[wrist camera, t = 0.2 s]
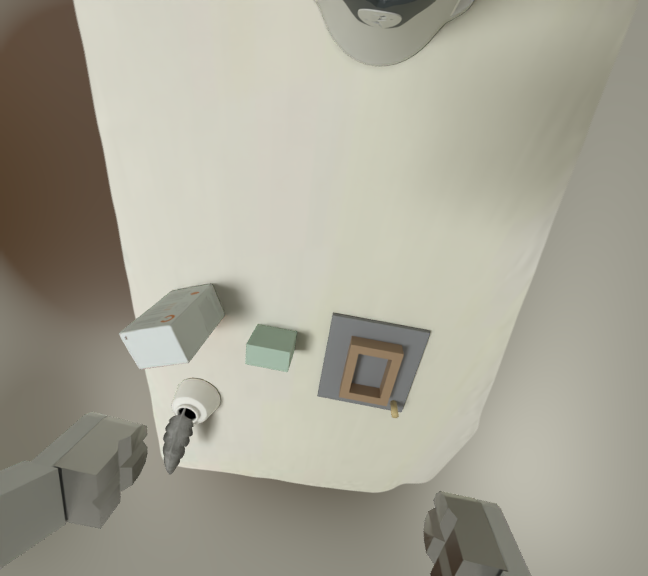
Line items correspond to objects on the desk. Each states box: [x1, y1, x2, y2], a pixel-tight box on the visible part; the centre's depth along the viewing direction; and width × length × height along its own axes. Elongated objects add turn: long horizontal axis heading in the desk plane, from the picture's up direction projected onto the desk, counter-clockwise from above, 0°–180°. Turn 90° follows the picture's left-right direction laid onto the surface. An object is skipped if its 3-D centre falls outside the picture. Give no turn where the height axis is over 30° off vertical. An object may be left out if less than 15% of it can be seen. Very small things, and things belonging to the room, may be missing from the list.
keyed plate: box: [317, 313, 430, 418], centre depth 53 cm, size 18×16×4 cm
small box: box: [119, 284, 225, 369], centre depth 47 cm, size 8×6×13 cm
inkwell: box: [163, 378, 221, 474], centre depth 60 cm, size 9×18×10 cm, turn 165°
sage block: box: [245, 324, 297, 372], centre depth 52 cm, size 4×7×6 cm, turn 81°
